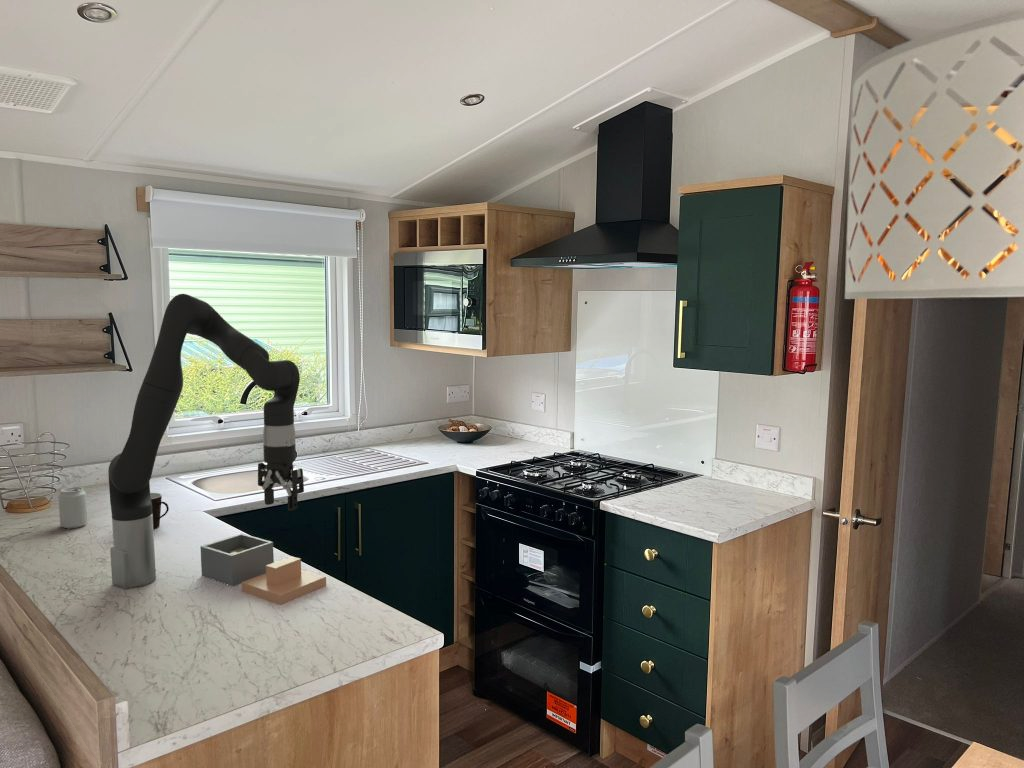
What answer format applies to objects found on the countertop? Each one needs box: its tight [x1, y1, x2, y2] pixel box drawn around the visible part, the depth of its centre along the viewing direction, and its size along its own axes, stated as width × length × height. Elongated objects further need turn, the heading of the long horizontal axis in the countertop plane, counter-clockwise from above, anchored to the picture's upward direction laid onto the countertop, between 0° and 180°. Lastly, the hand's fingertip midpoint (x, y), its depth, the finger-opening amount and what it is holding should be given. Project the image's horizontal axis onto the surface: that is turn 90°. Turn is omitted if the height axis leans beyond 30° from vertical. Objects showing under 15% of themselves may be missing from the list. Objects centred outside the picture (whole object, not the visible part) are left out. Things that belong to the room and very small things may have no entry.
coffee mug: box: [150, 492, 170, 530], centre depth 238 cm, size 12×9×10 cm
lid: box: [240, 555, 327, 605], centre depth 191 cm, size 14×14×7 cm
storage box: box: [200, 533, 275, 587], centre depth 200 cm, size 13×13×8 cm
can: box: [57, 486, 89, 530], centre depth 240 cm, size 8×8×12 cm
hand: (280, 507), depth 188 cm, fingers open, 8 cm apart
